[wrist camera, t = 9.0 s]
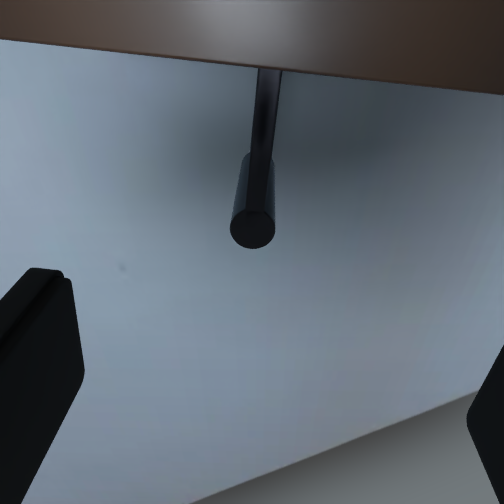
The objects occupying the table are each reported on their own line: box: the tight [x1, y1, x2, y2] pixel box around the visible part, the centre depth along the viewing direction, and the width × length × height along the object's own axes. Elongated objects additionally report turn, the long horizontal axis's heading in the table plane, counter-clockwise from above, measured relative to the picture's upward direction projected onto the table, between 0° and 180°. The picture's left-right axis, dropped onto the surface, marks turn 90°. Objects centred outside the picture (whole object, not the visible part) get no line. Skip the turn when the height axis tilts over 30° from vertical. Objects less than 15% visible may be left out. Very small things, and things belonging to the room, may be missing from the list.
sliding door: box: [230, 68, 282, 249], centre depth 17 cm, size 7×7×9 cm
